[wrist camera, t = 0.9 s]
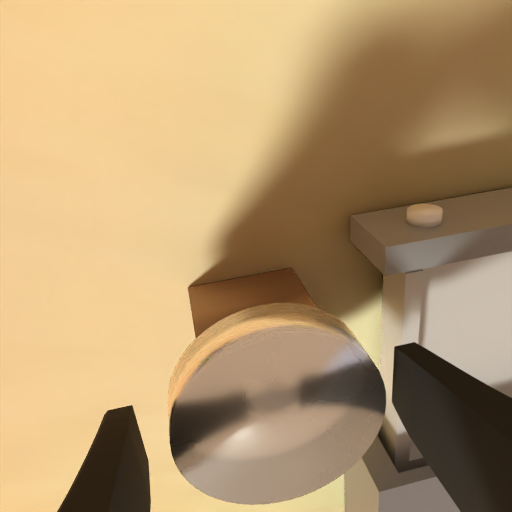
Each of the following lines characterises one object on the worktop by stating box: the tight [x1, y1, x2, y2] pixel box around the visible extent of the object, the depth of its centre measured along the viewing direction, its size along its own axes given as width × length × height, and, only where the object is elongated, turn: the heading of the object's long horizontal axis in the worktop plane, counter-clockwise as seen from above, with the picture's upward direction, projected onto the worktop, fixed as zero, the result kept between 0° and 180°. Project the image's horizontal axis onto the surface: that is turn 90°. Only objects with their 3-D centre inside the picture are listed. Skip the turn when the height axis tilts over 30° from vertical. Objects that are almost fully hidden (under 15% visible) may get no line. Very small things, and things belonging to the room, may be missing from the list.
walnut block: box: [188, 268, 317, 338], centre depth 14 cm, size 4×4×4 cm
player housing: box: [344, 436, 460, 512], centre depth 21 cm, size 13×11×3 cm
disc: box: [168, 303, 386, 505], centre depth 12 cm, size 6×6×1 cm
